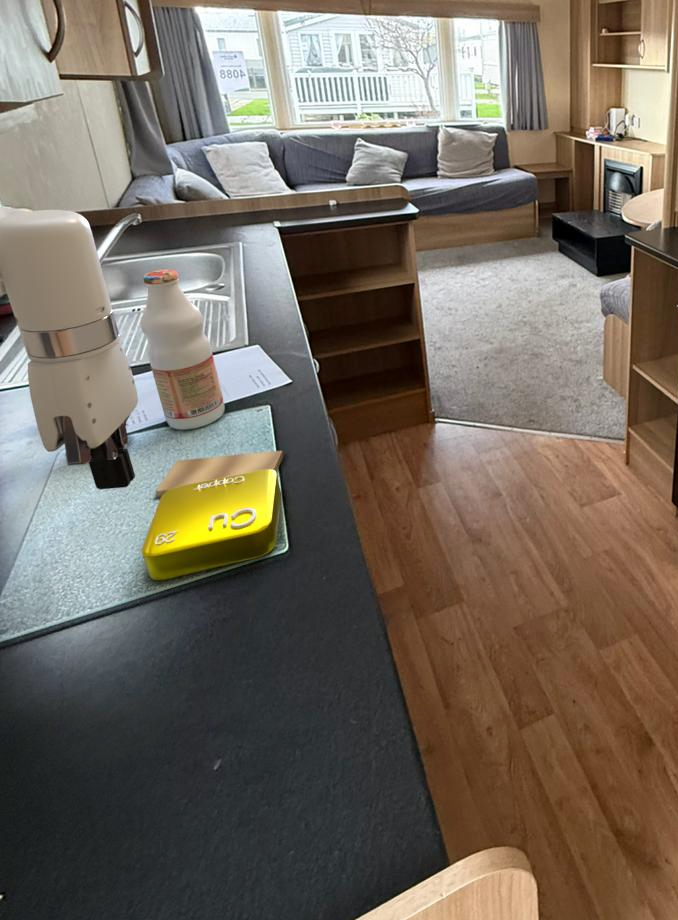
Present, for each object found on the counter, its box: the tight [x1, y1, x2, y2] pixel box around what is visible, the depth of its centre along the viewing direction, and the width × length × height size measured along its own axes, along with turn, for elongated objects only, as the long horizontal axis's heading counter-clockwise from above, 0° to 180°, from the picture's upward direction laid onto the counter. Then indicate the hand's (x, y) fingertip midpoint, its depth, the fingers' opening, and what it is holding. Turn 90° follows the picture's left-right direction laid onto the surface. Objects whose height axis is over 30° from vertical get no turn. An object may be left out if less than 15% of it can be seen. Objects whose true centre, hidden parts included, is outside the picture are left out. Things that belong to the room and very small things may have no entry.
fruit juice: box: [140, 269, 226, 430], centre depth 114 cm, size 9×9×28 cm
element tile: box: [141, 469, 282, 581], centre depth 90 cm, size 15×15×5 cm
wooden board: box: [155, 450, 284, 498], centre depth 103 cm, size 16×8×1 cm, turn 100°
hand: (116, 483), depth 72 cm, fingers closed
